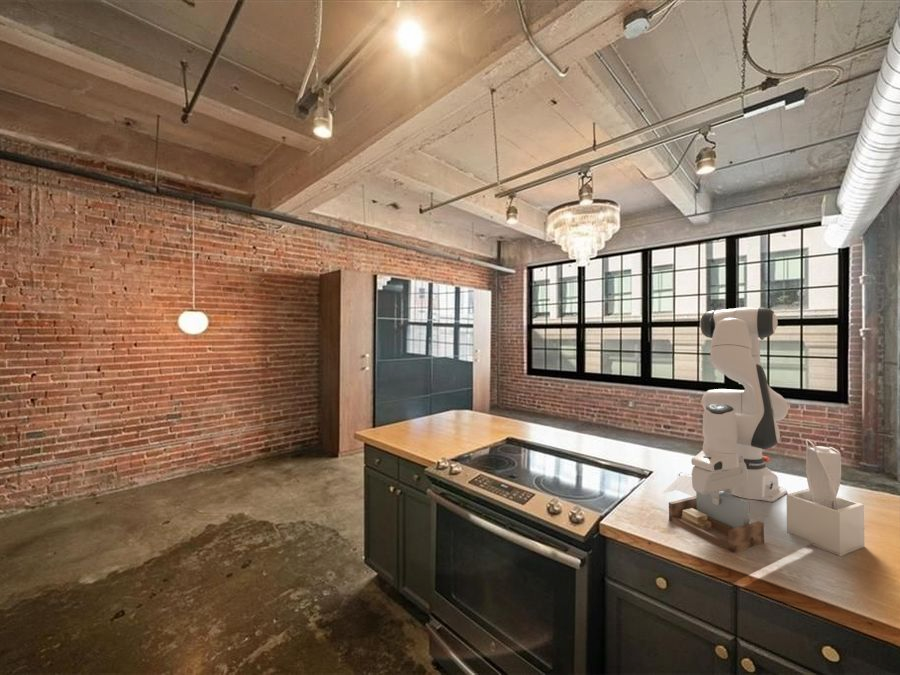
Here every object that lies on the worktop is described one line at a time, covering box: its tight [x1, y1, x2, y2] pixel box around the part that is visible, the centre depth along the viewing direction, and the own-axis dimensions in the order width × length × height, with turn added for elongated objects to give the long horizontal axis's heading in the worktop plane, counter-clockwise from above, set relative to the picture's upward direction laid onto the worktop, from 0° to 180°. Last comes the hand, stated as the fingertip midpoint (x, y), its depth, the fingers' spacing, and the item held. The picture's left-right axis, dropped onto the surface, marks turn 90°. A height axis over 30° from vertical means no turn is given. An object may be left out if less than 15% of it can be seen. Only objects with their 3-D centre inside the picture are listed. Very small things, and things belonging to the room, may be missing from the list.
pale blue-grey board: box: [696, 491, 750, 528], centre depth 113 cm, size 2×14×10 cm, turn 20°
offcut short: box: [682, 508, 707, 524], centre depth 115 cm, size 4×5×2 cm
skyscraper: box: [805, 438, 842, 510], centre depth 108 cm, size 8×8×28 cm
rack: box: [668, 496, 765, 554], centre depth 112 cm, size 13×19×7 cm
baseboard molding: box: [661, 472, 696, 497], centre depth 143 cm, size 31×3×12 cm
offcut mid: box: [681, 516, 712, 532], centre depth 115 cm, size 4×6×2 cm
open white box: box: [785, 488, 865, 557], centre depth 108 cm, size 12×12×12 cm
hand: (721, 502), depth 113 cm, fingers closed on pale blue-grey board, 2 cm apart
